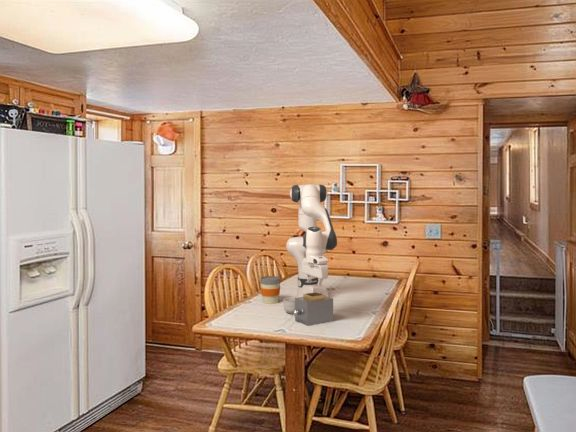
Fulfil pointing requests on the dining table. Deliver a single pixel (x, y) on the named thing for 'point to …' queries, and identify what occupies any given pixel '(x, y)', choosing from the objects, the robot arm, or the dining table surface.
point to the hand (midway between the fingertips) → (314, 284)
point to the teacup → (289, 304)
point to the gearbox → (313, 309)
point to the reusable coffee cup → (270, 289)
